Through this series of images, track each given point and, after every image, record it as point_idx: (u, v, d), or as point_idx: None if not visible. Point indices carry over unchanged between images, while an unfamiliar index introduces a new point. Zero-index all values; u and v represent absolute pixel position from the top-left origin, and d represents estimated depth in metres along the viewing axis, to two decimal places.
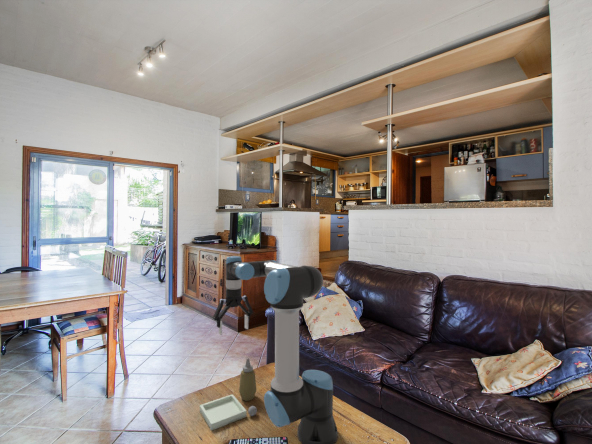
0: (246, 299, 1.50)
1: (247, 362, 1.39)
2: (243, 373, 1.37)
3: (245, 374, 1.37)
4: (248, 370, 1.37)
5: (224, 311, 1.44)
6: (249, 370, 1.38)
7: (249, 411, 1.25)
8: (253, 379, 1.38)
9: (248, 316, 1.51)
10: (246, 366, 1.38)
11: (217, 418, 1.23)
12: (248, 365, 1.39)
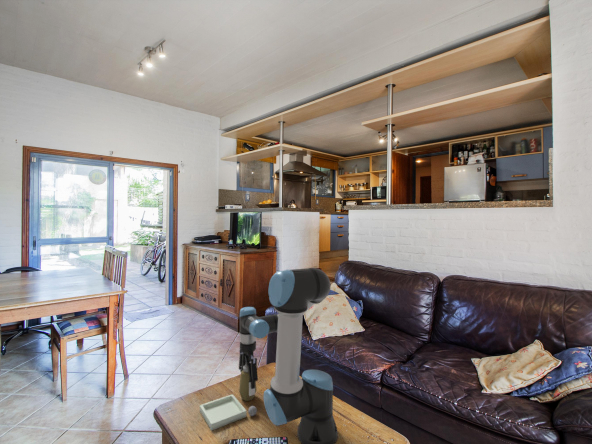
0: (251, 362, 1.34)
1: None
2: (243, 373, 1.37)
3: (245, 374, 1.37)
4: None
5: (242, 363, 1.42)
6: None
7: (249, 411, 1.25)
8: None
9: (251, 382, 1.35)
10: (246, 366, 1.38)
11: (217, 418, 1.23)
12: None
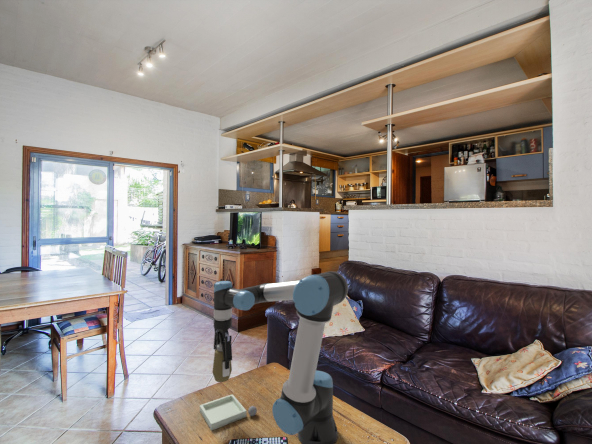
0: (225, 340, 1.22)
1: None
2: (217, 352, 1.26)
3: (219, 353, 1.25)
4: None
5: (216, 342, 1.30)
6: None
7: (249, 411, 1.25)
8: None
9: (225, 362, 1.23)
10: (220, 345, 1.27)
11: (217, 418, 1.23)
12: None
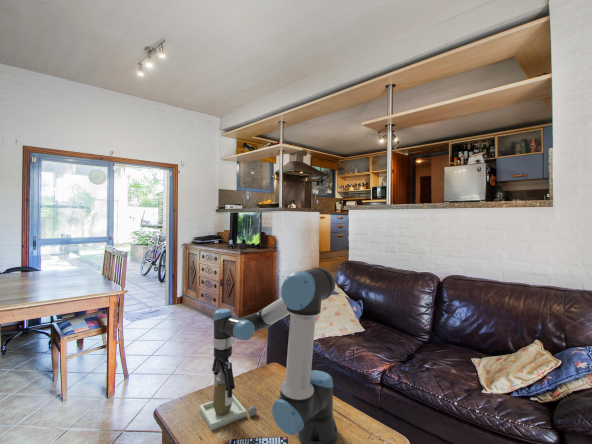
0: (225, 367, 1.22)
1: (221, 373, 1.27)
2: (217, 385, 1.25)
3: (219, 386, 1.25)
4: (222, 382, 1.25)
5: (215, 367, 1.31)
6: (223, 382, 1.26)
7: (249, 411, 1.25)
8: None
9: (228, 391, 1.21)
10: (220, 377, 1.26)
11: (217, 418, 1.23)
12: (222, 376, 1.27)
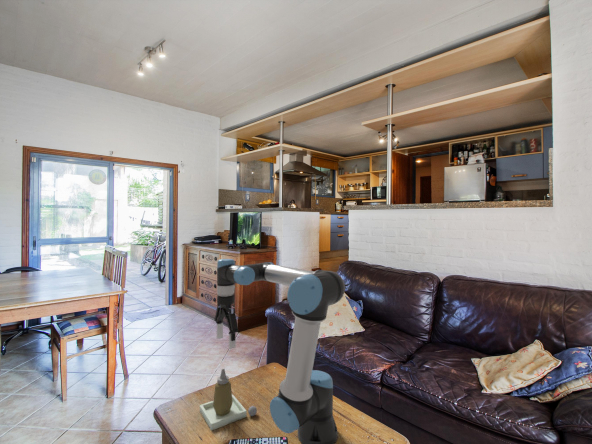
0: (229, 312, 1.26)
1: (222, 373, 1.27)
2: (217, 385, 1.25)
3: (219, 386, 1.25)
4: (223, 382, 1.25)
5: (218, 315, 1.35)
6: (224, 382, 1.25)
7: (249, 411, 1.25)
8: (228, 392, 1.26)
9: (231, 334, 1.25)
10: (221, 378, 1.26)
11: (217, 418, 1.23)
12: (223, 376, 1.26)
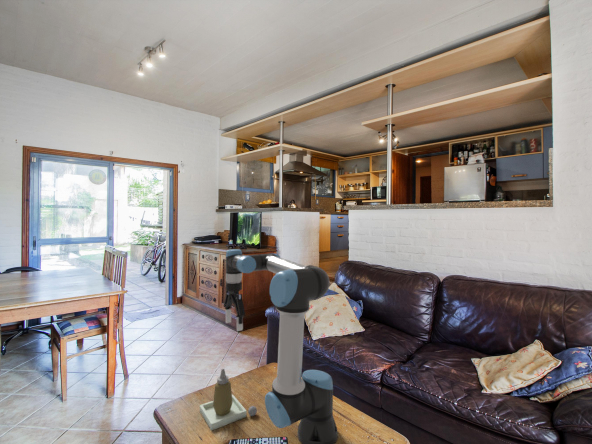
0: (236, 298, 1.38)
1: (222, 373, 1.27)
2: (217, 385, 1.25)
3: (219, 386, 1.25)
4: (223, 382, 1.25)
5: (227, 302, 1.47)
6: (224, 382, 1.25)
7: (249, 411, 1.25)
8: (228, 392, 1.26)
9: (239, 318, 1.37)
10: (221, 378, 1.26)
11: (217, 418, 1.23)
12: (223, 376, 1.26)
